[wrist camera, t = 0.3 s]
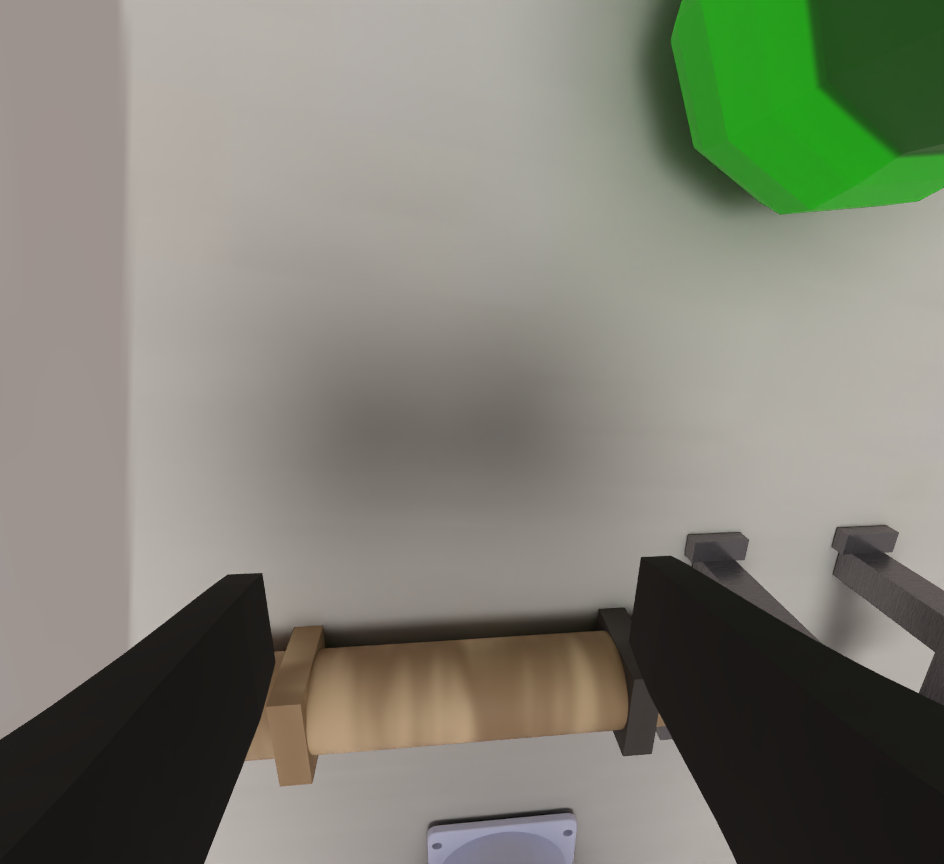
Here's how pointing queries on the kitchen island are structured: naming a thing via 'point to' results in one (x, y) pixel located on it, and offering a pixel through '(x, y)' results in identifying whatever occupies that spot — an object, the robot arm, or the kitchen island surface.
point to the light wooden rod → (451, 694)
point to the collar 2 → (894, 592)
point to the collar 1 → (732, 578)
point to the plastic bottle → (816, 98)
